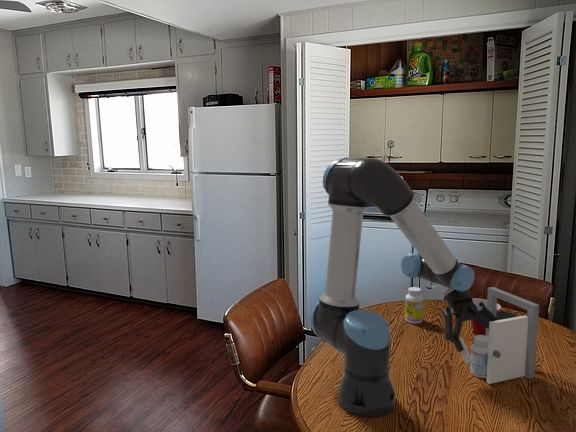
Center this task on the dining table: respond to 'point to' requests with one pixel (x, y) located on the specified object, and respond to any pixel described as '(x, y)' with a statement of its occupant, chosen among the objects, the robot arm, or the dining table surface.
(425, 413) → the dining table surface
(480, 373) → the pill bottle
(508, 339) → the door
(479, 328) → the plastic cup
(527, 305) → the door frame
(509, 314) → the phone
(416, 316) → the supplement bottle
